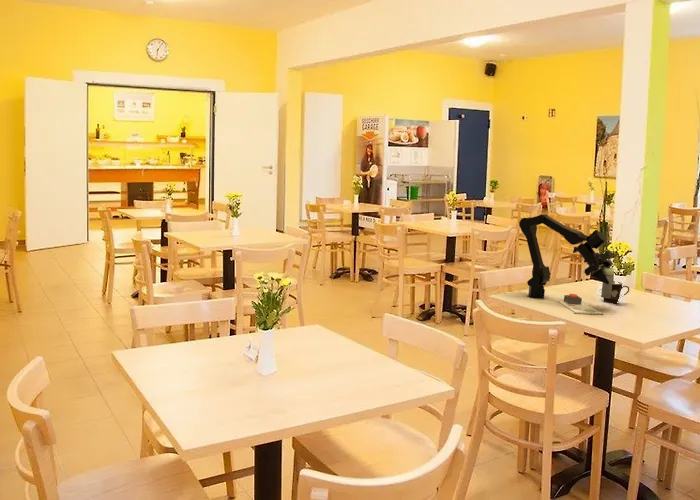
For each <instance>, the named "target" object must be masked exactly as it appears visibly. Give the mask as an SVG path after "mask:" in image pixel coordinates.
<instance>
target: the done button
mask: <svg viewBox="0 0 700 500" xmlns="http://www.w3.org/2000/svg"><path fill="white" fill-rule="evenodd" d="M568 295H569V297H570V298H577V296H578V294H576V293H569V294H568Z"/></svg>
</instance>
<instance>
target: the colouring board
mask: <svg viewBox="0 0 700 500" xmlns="http://www.w3.org/2000/svg"><path fill="white" fill-rule="evenodd" d="M556 302H557V303H559V305H561V306H563V307H565V308H566V309H568V310H570V311H571V312H572V313H573V314H574V315H589V316H590V315H591V316H592V315H593V316H604V313H603V312H601V311H600V310H598V309H596V308H594V307H593V306H591V305H590V304H587V303H586V302H584V301H582V302H581V304H568V303H566V302H564V300H556Z"/></svg>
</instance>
